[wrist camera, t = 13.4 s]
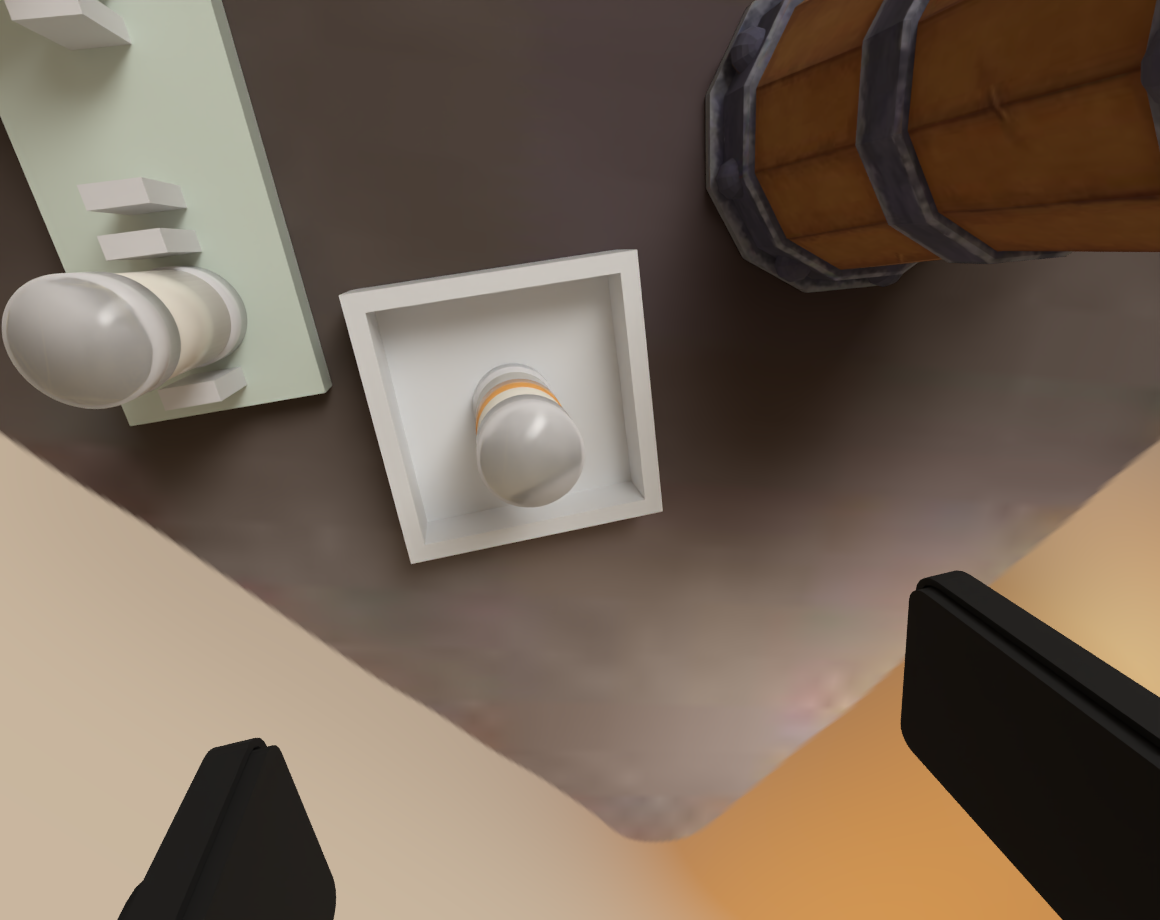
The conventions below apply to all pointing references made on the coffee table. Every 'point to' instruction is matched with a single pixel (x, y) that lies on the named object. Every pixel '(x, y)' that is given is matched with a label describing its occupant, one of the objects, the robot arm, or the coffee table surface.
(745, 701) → the coffee table surface
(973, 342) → the coffee table surface
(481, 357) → the tray
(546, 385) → the marked fuse
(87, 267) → the board
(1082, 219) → the mug
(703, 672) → the coffee table surface
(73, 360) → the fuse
